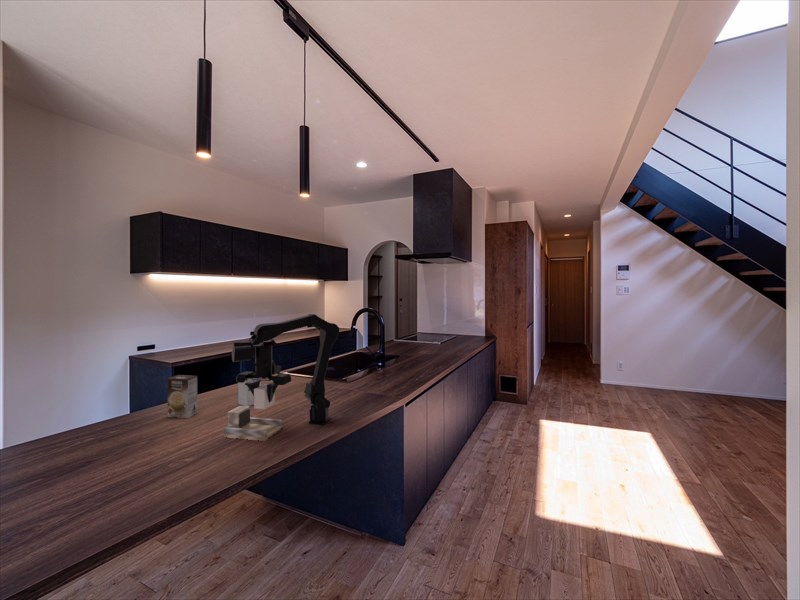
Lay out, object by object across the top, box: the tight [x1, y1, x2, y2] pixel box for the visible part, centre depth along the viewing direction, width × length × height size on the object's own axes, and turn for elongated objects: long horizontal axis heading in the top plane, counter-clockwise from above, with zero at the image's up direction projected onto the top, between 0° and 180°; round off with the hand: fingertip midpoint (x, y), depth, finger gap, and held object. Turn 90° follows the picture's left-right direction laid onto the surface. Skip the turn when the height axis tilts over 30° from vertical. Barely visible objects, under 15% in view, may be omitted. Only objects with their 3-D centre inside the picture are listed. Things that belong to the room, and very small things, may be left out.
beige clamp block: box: [223, 405, 283, 442], centre depth 127 cm, size 16×12×8 cm
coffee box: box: [167, 374, 198, 419], centre depth 143 cm, size 9×6×16 cm
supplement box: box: [237, 381, 262, 407], centre depth 159 cm, size 7×7×13 cm
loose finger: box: [253, 383, 276, 410], centre depth 126 cm, size 5×7×7 cm, turn 170°
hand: (263, 401), depth 126 cm, fingers closed on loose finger, 5 cm apart
